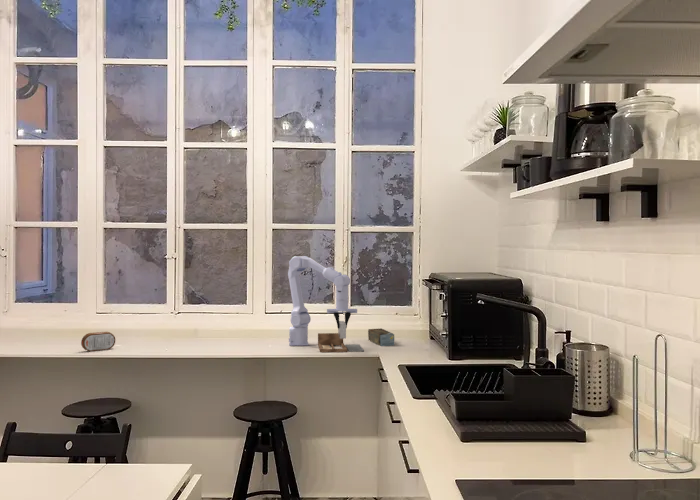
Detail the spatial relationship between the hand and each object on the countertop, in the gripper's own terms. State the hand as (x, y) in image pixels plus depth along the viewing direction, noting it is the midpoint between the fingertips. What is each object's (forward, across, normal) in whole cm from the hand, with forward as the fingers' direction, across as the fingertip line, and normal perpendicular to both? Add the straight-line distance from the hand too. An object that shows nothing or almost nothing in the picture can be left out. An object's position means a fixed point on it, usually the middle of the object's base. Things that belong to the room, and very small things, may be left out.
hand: (342, 328), depth 286 cm
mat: (+10, +6, 0) cm, 11 cm away
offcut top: (+10, -8, 0) cm, 12 cm away
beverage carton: (+10, +21, +16) cm, 28 cm away
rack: (+10, -5, 0) cm, 11 cm away
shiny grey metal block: (+4, 0, 0) cm, 4 cm away
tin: (+10, -114, +4) cm, 114 cm away
